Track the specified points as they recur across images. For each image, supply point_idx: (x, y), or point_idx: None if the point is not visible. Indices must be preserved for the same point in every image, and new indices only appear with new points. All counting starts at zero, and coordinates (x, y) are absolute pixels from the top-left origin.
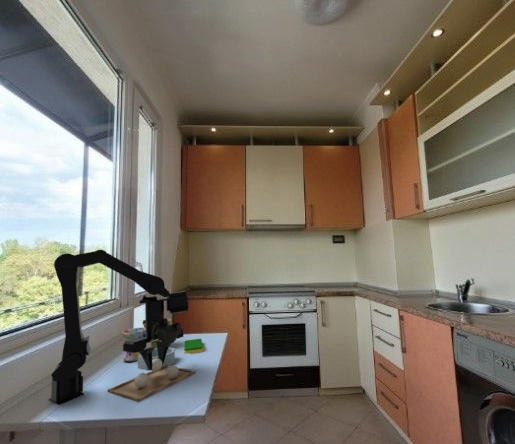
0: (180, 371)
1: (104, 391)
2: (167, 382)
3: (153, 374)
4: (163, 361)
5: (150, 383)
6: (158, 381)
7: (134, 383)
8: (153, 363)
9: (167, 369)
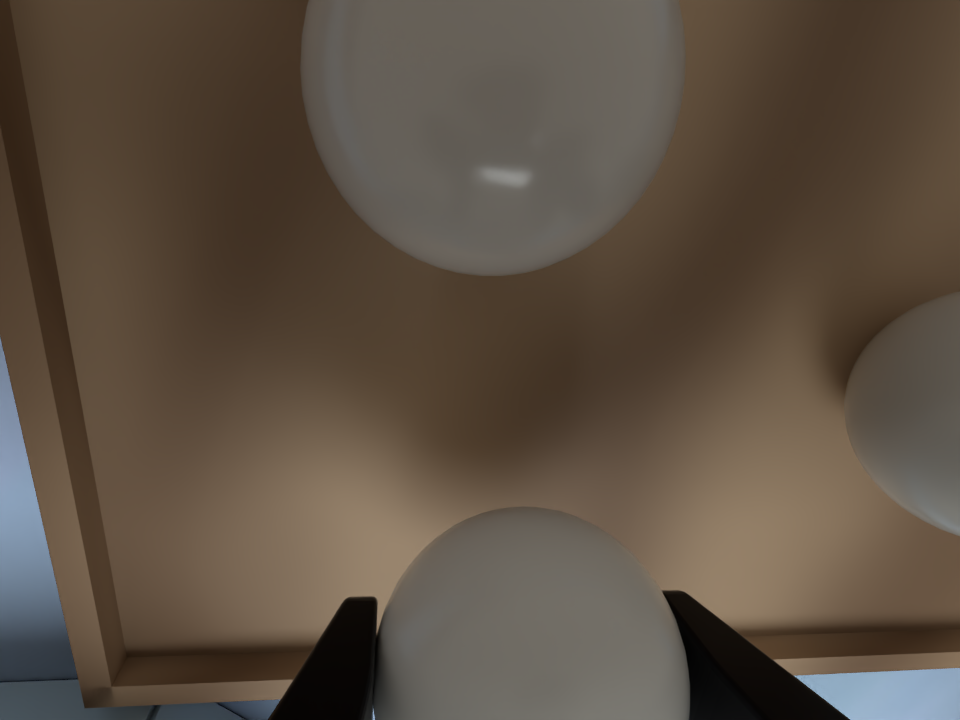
0: (78, 238)
1: (938, 691)
2: None
3: None
4: (333, 655)
5: (747, 357)
6: (650, 291)
7: (771, 574)
8: (685, 691)
9: (661, 144)
